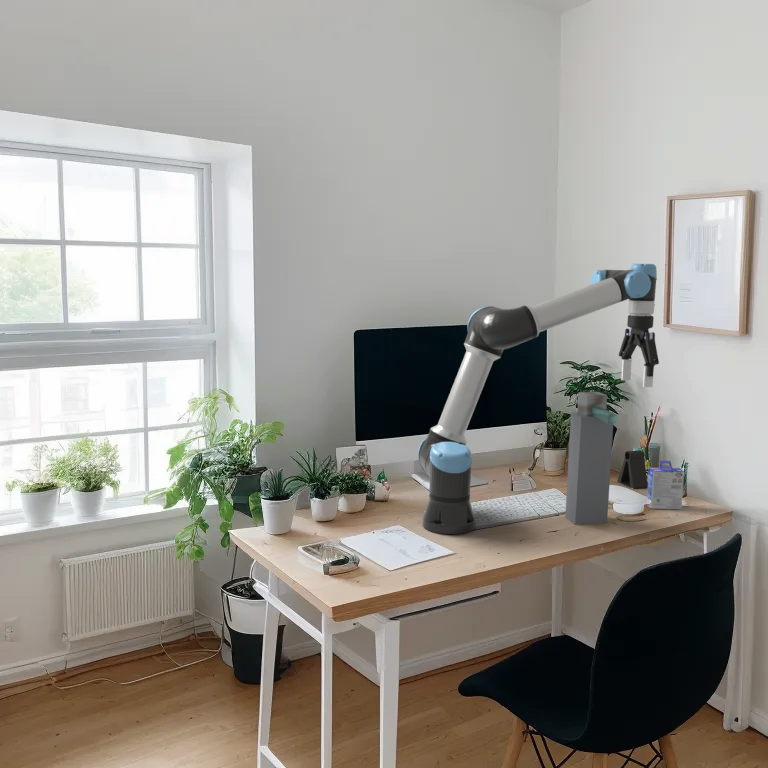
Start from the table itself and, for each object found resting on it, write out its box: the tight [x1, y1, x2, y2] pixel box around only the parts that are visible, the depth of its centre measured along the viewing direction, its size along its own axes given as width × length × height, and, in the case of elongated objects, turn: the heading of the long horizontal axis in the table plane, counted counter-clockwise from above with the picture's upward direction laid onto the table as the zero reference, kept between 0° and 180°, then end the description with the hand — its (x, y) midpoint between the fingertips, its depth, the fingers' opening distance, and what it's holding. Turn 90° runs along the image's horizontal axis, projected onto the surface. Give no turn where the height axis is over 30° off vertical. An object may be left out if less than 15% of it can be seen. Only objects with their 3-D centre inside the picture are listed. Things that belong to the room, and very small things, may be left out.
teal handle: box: [577, 391, 618, 424], centre depth 223 cm, size 6×16×6 cm, turn 10°
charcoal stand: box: [565, 411, 614, 525], centre depth 230 cm, size 10×7×32 cm
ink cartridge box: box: [646, 460, 685, 510], centre depth 245 cm, size 10×6×14 cm, turn 89°
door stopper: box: [617, 449, 648, 490], centre depth 269 cm, size 9×6×12 cm, turn 19°
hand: (636, 383), depth 242 cm, fingers open, 13 cm apart
